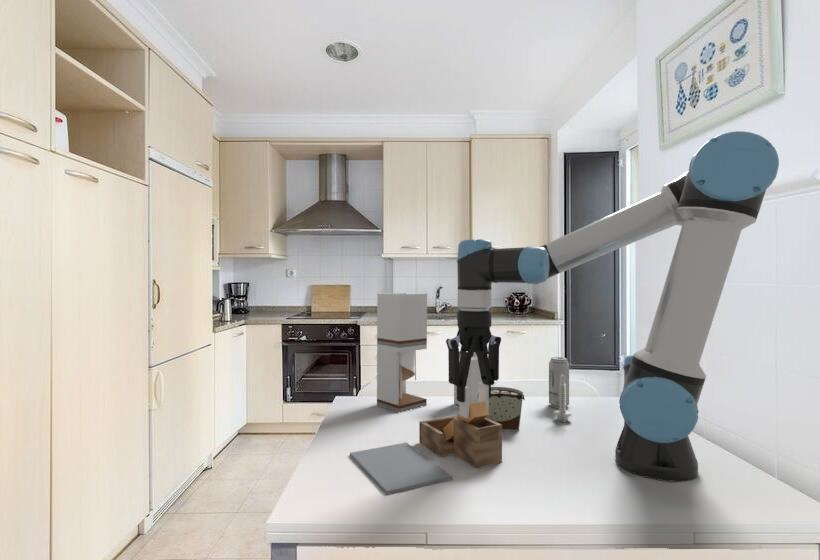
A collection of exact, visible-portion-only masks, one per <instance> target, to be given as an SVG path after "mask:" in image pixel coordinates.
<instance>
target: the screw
mask: <svg viewBox="0 0 820 560" xmlns="http://www.w3.org/2000/svg"><path fill="white" fill-rule="evenodd" d="M565 385H566V384H565V375H563V374H562V375H561V377H560V395H559V396H560V397H559V398H560V399H559V400H560V401H559V402H560V408H559V409H555V410H553V415H555V416H556V417H557V421H558V420H559V421H558V422H561V421H562V423H566V421H567V422H569V417H571V416H572V415H573V414H572V412H570V411H569V410H567V408H566V386H565Z"/></svg>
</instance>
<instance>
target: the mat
mask: <svg viewBox="0 0 820 560" xmlns="http://www.w3.org/2000/svg"><path fill="white" fill-rule="evenodd" d="M349 457H351V458H352V459H353V460H354V461H355V463H356V464H358V466H359V467H360V468H361V469H362V470H363V471H364V472H365V473H366V474H367V475H368V476H369V477H370V478H371V479H372V480H373V482H374V483H375V484H376V485H377V486H378V487H379V488H380V489H381V491H383V492H384V493H385V494H386V495H391V494H394V493H398V492H399V493H400V492H403V491H408V490H411V489H416V488H421V487H424V486H428V485H429V486H430V485H432V484H437V483H441V482H444V481H445V482H446V481H449V480H453V475H451V473H449V472H448V471H446V470H445V469H444V468H442V467H441V466H439V465H438V464H437V463H435V462H434V461H433V460H432V459H430V458H429V457H427V456H426V455H424V454H423V453H422V452H420V450H419V451H418V450H417V449H416V448H415V447H413V445H410V444H409V443H407V442H403V443H402V442H401V443H396V444H391V445H386V446H380V447H375V448H369V449H362V450H358V451H353V452H350V453H349Z"/></svg>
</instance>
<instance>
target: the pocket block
mask: <svg viewBox="0 0 820 560" xmlns="http://www.w3.org/2000/svg"><path fill="white" fill-rule="evenodd" d="M456 416H457V415H453V416H448V417H447V416H446V417H442V418H441V417H440V418H434V419H429V420H423V421H419V423H418V424H419V425H418V426H419V427H418V428H419V430H418V431H419V433H418V434H419V438H418V439H419V440H418V441H419V444H420V445H422V446H423V447H425V448H427V450H429V451H431V452H432V453H434V454H435V455H436V456H438V457H439V458H440V457H445V456H449V455H450V456H451V455H455V456H456V457H458V458H459V459H461V460H462V461H464V462H465V463H467V464H468V465H470V466H472V467H474V468H475V469H478V468H483V467H487V466H490V465H491V466H492V465H495V464H500V463H503V430H502V424H499V423H497V422H495V421H493V420H491V419H488V418H485V419H484V420H482V421H481V422H480V423H479V424H478V425H476V426H474V425H472V424H470V423H467V422H465V421H463V420H461V419H459V418H455V417H456ZM453 419H454V440H450V441H447V440H446V437H445V434H444V431H443V428H444V427H445V426H446V425H447V424H448V423H449V422H451V421H452V420H453Z"/></svg>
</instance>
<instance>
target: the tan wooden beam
mask: <svg viewBox="0 0 820 560" xmlns="http://www.w3.org/2000/svg"><path fill="white" fill-rule="evenodd" d="M488 415H489V412H488V410H487V407H486V405H485V402H480V403H473V404H469V418H465V417H463V416H461V415H459V413H458V414H457V415H455V416H456V417H455V418H459V419H461V420H463V421H465V422H467V423H470V424H472V425H474V426H476V425H478V424H479V423H480V422H481V421H482V420H484V419H485V418H486V417H487V416H488ZM443 431H444V434H445V437H446V440H447V441H450V440H454V419H453V420H452V421H451V422H449V423H448V424H447V425H446V426H445V427H444V428H443Z"/></svg>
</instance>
